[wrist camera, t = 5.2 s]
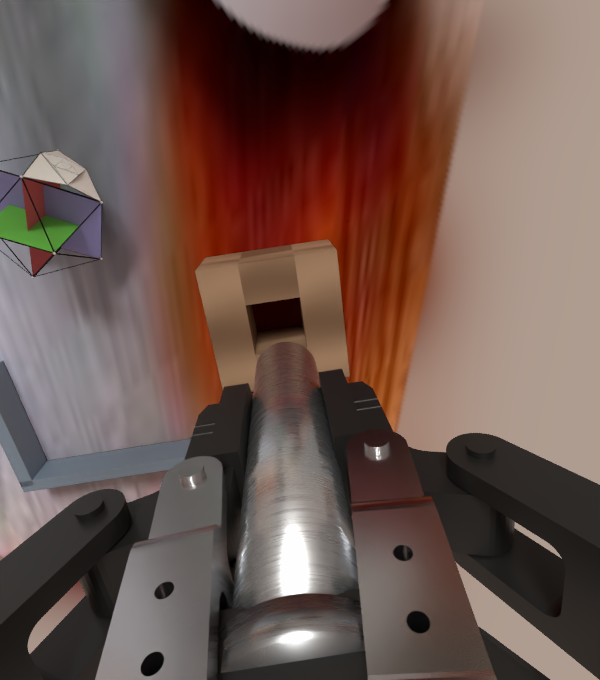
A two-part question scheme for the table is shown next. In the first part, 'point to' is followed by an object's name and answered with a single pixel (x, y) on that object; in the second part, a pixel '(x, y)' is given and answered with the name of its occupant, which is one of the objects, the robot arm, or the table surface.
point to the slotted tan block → (266, 286)
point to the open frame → (37, 473)
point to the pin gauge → (292, 527)
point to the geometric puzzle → (51, 210)
